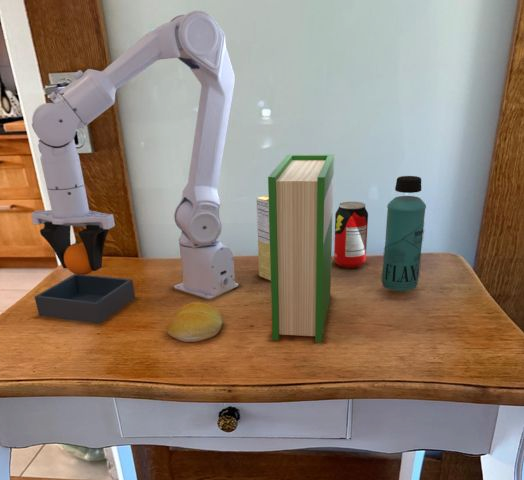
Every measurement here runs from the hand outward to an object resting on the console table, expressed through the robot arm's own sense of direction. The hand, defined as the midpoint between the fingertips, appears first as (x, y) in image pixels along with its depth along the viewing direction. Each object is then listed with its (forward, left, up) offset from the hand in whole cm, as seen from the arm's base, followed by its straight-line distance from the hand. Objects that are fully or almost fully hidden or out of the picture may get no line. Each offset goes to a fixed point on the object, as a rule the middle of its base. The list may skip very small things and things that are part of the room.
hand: (82, 267), depth 94 cm
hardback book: (-33, -18, -8) cm, 39 cm away
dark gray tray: (0, 0, -7) cm, 7 cm away
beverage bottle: (-41, -36, -8) cm, 55 cm away
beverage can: (-26, -44, -8) cm, 52 cm away
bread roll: (-22, -4, -8) cm, 24 cm away
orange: (0, 0, -1) cm, 1 cm away
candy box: (-18, -32, -8) cm, 38 cm away
